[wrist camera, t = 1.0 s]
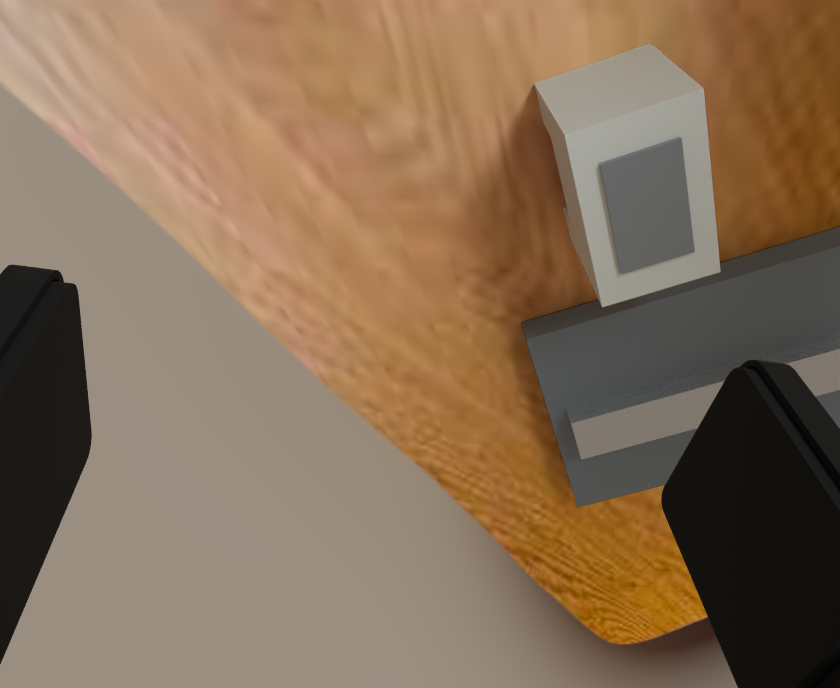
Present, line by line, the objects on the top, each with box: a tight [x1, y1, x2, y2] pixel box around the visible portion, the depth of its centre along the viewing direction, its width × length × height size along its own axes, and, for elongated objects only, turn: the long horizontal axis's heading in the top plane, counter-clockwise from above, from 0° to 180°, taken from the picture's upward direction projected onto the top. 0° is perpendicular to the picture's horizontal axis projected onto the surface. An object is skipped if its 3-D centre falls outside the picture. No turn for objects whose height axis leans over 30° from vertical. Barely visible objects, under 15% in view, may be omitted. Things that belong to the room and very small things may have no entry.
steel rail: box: [566, 332, 840, 460], centre depth 39 cm, size 18×3×1 cm, turn 109°
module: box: [534, 43, 721, 307], centre depth 30 cm, size 5×8×6 cm, turn 19°
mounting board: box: [521, 227, 840, 507], centre depth 40 cm, size 20×14×2 cm
